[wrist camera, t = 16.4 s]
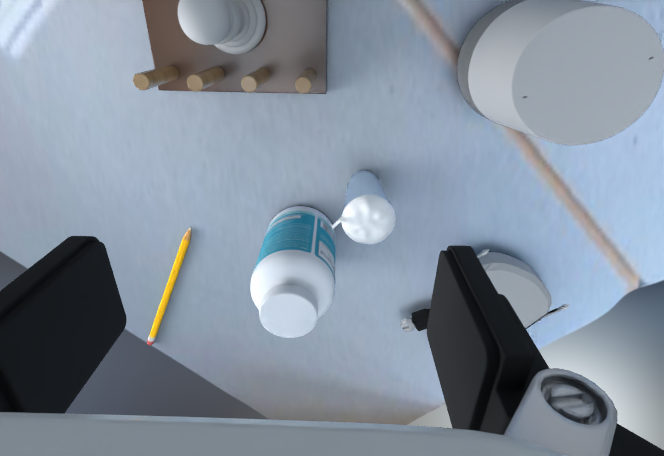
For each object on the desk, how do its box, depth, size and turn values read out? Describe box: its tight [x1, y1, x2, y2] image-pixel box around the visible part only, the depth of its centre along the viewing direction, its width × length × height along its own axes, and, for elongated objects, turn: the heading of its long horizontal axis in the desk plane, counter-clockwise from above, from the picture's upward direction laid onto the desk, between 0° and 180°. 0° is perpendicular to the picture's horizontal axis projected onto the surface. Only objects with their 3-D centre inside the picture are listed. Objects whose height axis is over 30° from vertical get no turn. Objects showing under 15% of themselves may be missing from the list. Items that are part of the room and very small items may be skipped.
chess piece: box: [178, 0, 266, 54], centre depth 28 cm, size 5×5×9 cm
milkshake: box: [331, 170, 396, 244], centre depth 35 cm, size 4×5×10 cm
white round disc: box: [401, 249, 569, 332], centre depth 44 cm, size 12×4×15 cm
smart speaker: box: [457, 0, 664, 145], centre depth 28 cm, size 10×9×14 cm
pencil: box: [147, 227, 191, 345], centre depth 46 cm, size 1×19×1 cm, turn 154°
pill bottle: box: [250, 206, 336, 338], centre depth 37 cm, size 8×7×14 cm
